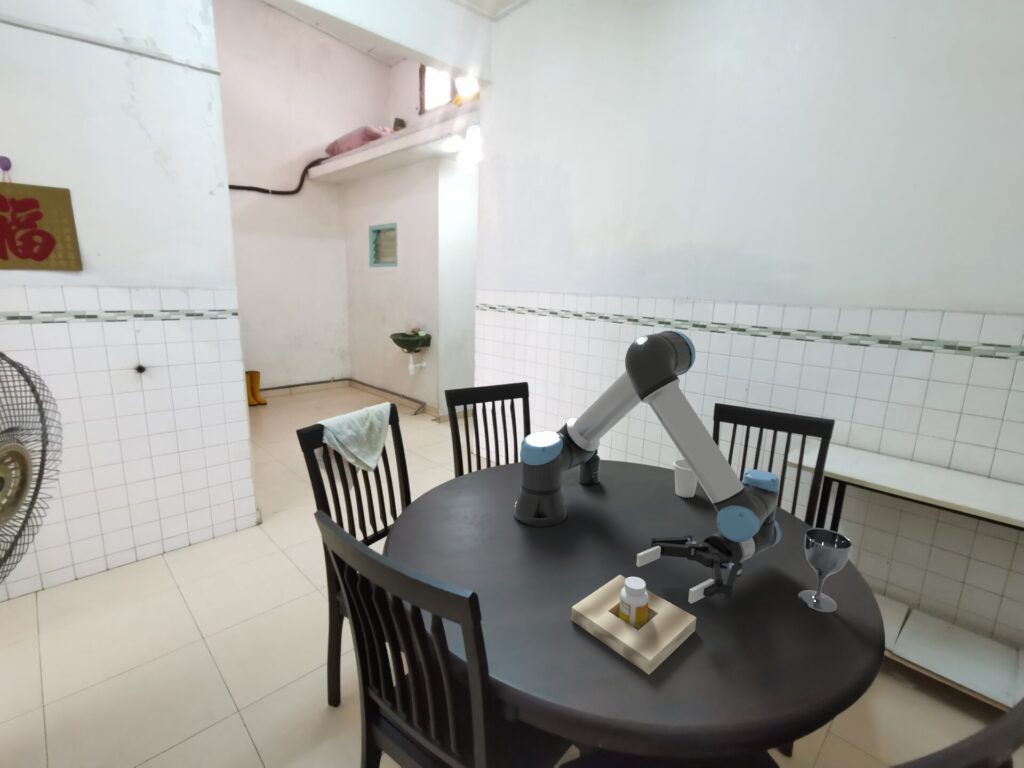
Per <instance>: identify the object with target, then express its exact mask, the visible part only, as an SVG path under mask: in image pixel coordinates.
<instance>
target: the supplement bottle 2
mask: <svg viewBox="0 0 1024 768" xmlns="http://www.w3.org/2000/svg"><path fill="white" fill-rule="evenodd" d="M625 578H626V580H625V585H624V588H623V589H622V590H621V593H620V609H619V615H618V618H619V619H621V620H623V621H624V622H626V623H627V624H629V625H630V626H632V627H633V628H635V629H637V630H639V629H640V628H642V627H643V626H644V625H645V624H646V623H648V620H647V614H648V601H649V597H648V594H647V592H646V591H645V590H647V588H646V587H647V584H646V581H645V580H644V579H643V578H641V577H638V576H629V577H625Z"/></svg>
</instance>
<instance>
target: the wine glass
mask: <svg viewBox="0 0 1024 768" xmlns="http://www.w3.org/2000/svg"><path fill="white" fill-rule="evenodd" d="M851 550H852V542H851V540H850V539H849V538H848V537H847V536H845V535H844V534H841V533H840V532H838V531H835V530H833V529H832V530H831V529H826V528H823V527H822V528H821V527H811V528H808V529H807V530H806V532H805V535H804V553H805V558H806V560H807V562H808V564H809V565H810V566H811V568H812V569H813V570H814V572H815V573H816V575H817V588H816V589H817V590H812V589H803V590H801V591H799V592H798V595H797V597H798V599H799V601H800V602H801V603H803V604H804V606H806V607H808V608H810V609H813V610H814V611H818V612H821V613H833V612H836V611H837V610H838V604H837V603H836V601H835V600H834V599H833V598H832V597H830V596H829V595H826V594H825V593H822V590H823V586H824V583H825V580H826V579H827V578H828V577H829V576H831V575H833V574H836V573H838V572H840V571H842V569H844V567H845V566H846V564H847V562H848V560H849V557H850V553H851Z"/></svg>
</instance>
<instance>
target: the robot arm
mask: <svg viewBox="0 0 1024 768" xmlns="http://www.w3.org/2000/svg"><path fill="white" fill-rule="evenodd" d="M695 361H696V349H695V345H694V343H693V341H692V339H691V338H689V336H687V335H686V334H685V333H683V332H681V331H678V330H671V329H670V330H664V331H661V332H658V333H653V334H646V335H643V336H641V337H639V338H637V339H635V340H634V341H633V342H632V343H631V344H630V345H629V347H628V349H627V350H626V353H625V358H624V366H625V371H624V372H623V373H622V374H621V375H620V376H619V377H618V378H617V379H616V380H615V381H614V382H613V383H612V384H611V385H610V386H609V387H608V388H607V389H606V390H605V391H604V392H603V393H602V394H601V395H600V396H599V397H598V398H597V399H596V400H595V401H593V403H592V404H591V405H590V406H589V407H588V408H587V409H586V410H585V411H584V412H583V413H582V414H581V415H580V416H579V417H571V418H570V419H569V420H568V421H567V422H565V424H564V425H563V426H562V427H561V428H560V429H559V430H557V431H556V432H554V431H550V430H549V431H548V430H544V431H543V430H542V431H540V432H539V431H536V432H532V433H530V434H528V435H526V436H525V437H524V438H523V440H522V441H521V443H520V452H519V457H520V460H519V461H520V469H519V470H520V474H519V475H520V477H519V478H520V485H519V486H520V488H519V492H518V494H517V497H516V501H515V502H514V504H513V505H514V507H513V510H514V511H513V514H515V515H514V517H515V518H516V520H517V521H519V520H520V521H521V523H522V522H523V523H522V524H524V523H526V524H525V525H527V524H528V525H527V526H531V525H532V526H531V527H538V528H540V527H552V526H555V525H559V524H561V523H562V522H563V521H565V519H566V517H567V504H566V503H565V499H564V495H563V492H562V475H563V474H565V473H567V472H568V471H570V470H572V469H574V468H576V467H577V466H578V467H579V465H580V464H582V463H585V462H586V461H588V460H589V459H590V458H591V457H592V456H593V454H594V453H595V450H596V449H597V448H598V449H599V447H600V443H601V442H600V440H601V439H602V438H603V437H605V435H606V434H607V433H608V432H609V431H611V429H613V427H615V426H616V425H617V424H618V423H619V422H621V420H623V419H624V418H625V417H626V416H627V415H628V414H629V413H630V412H631V411H633V409H635V407H636V406H638V405H639V404H640V403H644V404H647V405H649V407H650V408H651V409H652V411H653V413H654V415H655V416H656V418H657V419H658V421H659V422H660V424H661V425H662V427H663V428H664V429H665V432H666V433H667V434H668V436H669V438H670V439H671V441H672V442H673V444H674V445H675V447H676V448H677V451H678V452H679V453H680V455H681V456H682V459H684V460H685V461H686V463H687V464H688V466H689V467H690V469H691V471H692V472H693V474H694V475H695V477H696V478H697V480H698V482H697V483H699V485H700V486H701V488H702V490H703V491H704V493H705V494H706V496H707V498H708V500H710V502H711V503H712V505H713V507H714V509H715V511H716V512H717V516H716V527H717V529H718V531H717V532H715V533H712V534H710V535H708V536H707V537H706V538H705V539H704V540H703V541H695V540H693V539H694V538H693V535H691V534H687V535H685V536H672V537H671V536H669V537H652V538H651V539H650V540H651V541H650V542H651V543H650V546H649V547H646V548H645V549H644V551H641V552H639V553H637V554H636V566H637V567H638V568H639V567H642V566H645V565H647V564H649V563H652V562H654V561H656V560H658V559H660V558H661V557H663V556H664V557H675V558H686V559H687V560H688V561H694V562H696V563H699V564H701V565H702V566H704V567H705V568H710V569H711V575H712V578H709V579H707V580H705V581H703V582H701V583H699V584H697V585H696V586H693V587H691V588H689V591H688V600H687V601H688V603H689V604H694V603H695V602H698V601H699V600H701V599H704V598H709V599H710V598H712V597H714V596H717V595H721V594H722V595H724V597H725V598H726V599H731V598H733V597H732V596H733V594H734V589H735V586H736V583H737V579H739V578H741V576H742V571H743V564H742V562H744V561H746V560H748V559H750V558H752V557H754V556H756V555H759V554H760V553H762V552H765V551H768V550H770V549H772V547H774V546H775V545H777V544H778V543H779V542H780V541H781V538H782V531H781V529H780V525H779V522H777V520H776V519H775V517H776V511H777V505H778V504H777V503H778V497H779V494H780V479H779V477H778V476H777V475H776V474H774V473H772V472H770V471H767V470H762V469H748V470H747V471H745V472H744V473H743V475H742V480H740V478H739V477H738V475H737V473H736V472H735V471H734V469H733V467H732V465H730V463H729V461H728V460H727V459H726V457H725V456H724V454H723V452H722V450H721V449H720V447H719V446H718V444H717V443H716V442H715V440H714V439H713V437H712V436H711V434H710V432H709V430H708V429H707V428H706V426H705V424H703V421H702V420H701V419H700V417H699V416H698V414H697V412H696V411H695V409H694V408H693V407H692V405H691V403H690V402H689V399H687V397H686V396H685V394H684V392H683V391H682V389H681V388H680V381H681V380H680V378H679V376H681V375H685V374H686V373H688V372H689V370H690V369H691V368H692V367H693V366H694V363H695ZM520 521H519V522H520ZM692 550H693V555H692ZM727 569H728V571H729V574H728V577H727V580H726V583H724V582H723V581H724V578H723V576H722V575H723V574H722V571H721V570H727Z"/></svg>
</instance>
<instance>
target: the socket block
mask: <svg viewBox="0 0 1024 768" xmlns="http://www.w3.org/2000/svg"><path fill="white" fill-rule="evenodd" d="M626 578H627V577H625V576H623V575H622V574H619V575H617V576H615V577H614V578H613V579H611V580H609V581H608V582H606V583H605V584H604V585H602V586H600V587H599V588H598V589H596V590H595V591H594V592H592V593H590V594H589V595H588V596H586V597H585V598H583V599H581V600H580V601H579V602H577V603H575V604H574V605H573V606H571V613H570V614H571V621H572V622H573V623H575V624H576V625H577V626H579V627H580V628H582V629H584V631H586V632H587V633H589V634H591V635H592V636H593V637H595V638H596V639H597V640H599V641H601V642H602V643H603V644H605V646H608V647H609V648H610V649H612V650H613V651H614V652H616V653H618V654H619V656H621V657H623V658H625V659H626V660H627V661H629V662H630V663H631V664H632V665H635V666H636V667H637V668H639V669H640V670H641V671H642V672H644V673H646V675H651V674H652V673H653V672H654V671H655V670H656V669H657V668H658V667H659V666H660V665H661V664H662V663H663V662H665V660H666V659H668V658H669V656H670V655H671V654H672V653H673V652H675V650H676V649H678V648H679V647H680V646H681V645H682V644H683V643H684V642H685V641H687V639H688V638H689V637H690V636H691V635H692V634H693V633H694V632H695V631H696V625H697V617H696V616H695V615H693V614H691V613H689V612H687V611H685V610H683V609H682V608H680V607H678V606H676V605H675V604H673V603H671V602H670V601H667V600H666V599H664V598H663V597H661V596H659V595H657V594H655V593H653V592H652V591H650V590H649V589H646V590H645V591H646V592H647V594H648V597H649V601H648V614H647V623H646V624H645V625H644V626H643V627H642V628H640V629H639V630H637V629H635V628H633V627H632V626H630V625H629V624H627V623H626V622H624V621H623V620H621V619H619V609H620V593H621V590H622V589H623V588H624V585H625V580H626Z"/></svg>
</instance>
